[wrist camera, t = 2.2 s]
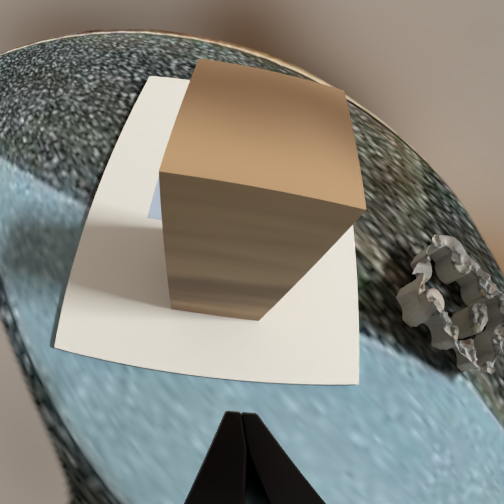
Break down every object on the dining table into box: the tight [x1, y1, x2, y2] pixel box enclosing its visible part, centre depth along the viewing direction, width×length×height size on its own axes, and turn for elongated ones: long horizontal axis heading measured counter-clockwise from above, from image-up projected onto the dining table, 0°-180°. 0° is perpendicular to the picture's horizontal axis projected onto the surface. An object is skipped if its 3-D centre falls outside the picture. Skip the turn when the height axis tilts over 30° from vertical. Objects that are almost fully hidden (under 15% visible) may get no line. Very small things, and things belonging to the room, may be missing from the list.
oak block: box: [159, 59, 366, 321], centre depth 14 cm, size 5×5×12 cm
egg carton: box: [396, 235, 504, 374], centre depth 20 cm, size 11×8×4 cm
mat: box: [54, 76, 359, 385], centre depth 22 cm, size 24×18×1 cm
